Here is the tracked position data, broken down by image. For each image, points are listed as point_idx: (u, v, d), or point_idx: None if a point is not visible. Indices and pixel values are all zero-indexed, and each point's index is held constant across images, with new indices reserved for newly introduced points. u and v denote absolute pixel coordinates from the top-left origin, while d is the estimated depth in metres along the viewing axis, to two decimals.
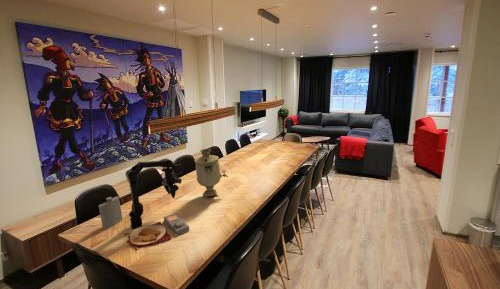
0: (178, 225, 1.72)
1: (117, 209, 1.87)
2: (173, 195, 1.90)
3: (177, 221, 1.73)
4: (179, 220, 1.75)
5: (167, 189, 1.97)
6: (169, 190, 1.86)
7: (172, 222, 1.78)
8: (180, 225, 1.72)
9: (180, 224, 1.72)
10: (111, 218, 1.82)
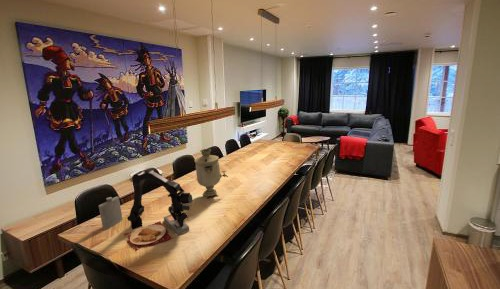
0: (178, 225, 1.72)
1: (117, 209, 1.87)
2: (181, 224, 1.69)
3: (177, 221, 1.73)
4: None
5: (174, 216, 1.77)
6: (177, 219, 1.65)
7: (172, 222, 1.78)
8: None
9: None
10: (111, 218, 1.82)
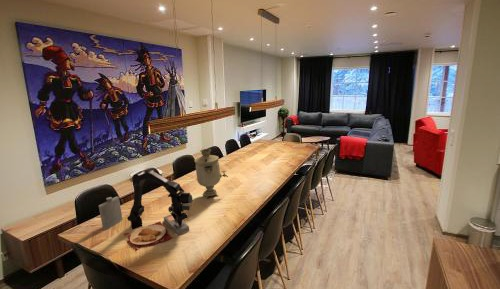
0: (178, 225, 1.72)
1: (117, 209, 1.87)
2: (180, 223, 1.71)
3: None
4: None
5: (175, 218, 1.75)
6: (177, 219, 1.65)
7: (172, 222, 1.78)
8: None
9: None
10: (111, 218, 1.82)
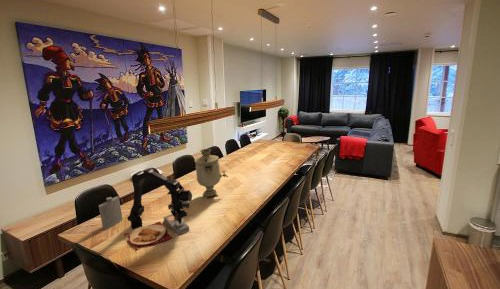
0: (178, 223, 1.71)
1: (117, 209, 1.87)
2: (180, 220, 1.71)
3: None
4: None
5: (175, 215, 1.74)
6: (177, 217, 1.65)
7: (172, 222, 1.78)
8: (180, 223, 1.72)
9: None
10: (111, 218, 1.82)
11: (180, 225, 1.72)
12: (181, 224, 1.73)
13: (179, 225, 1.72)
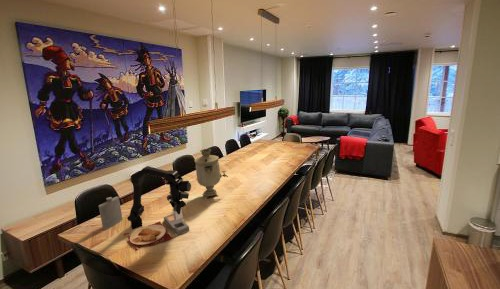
0: (177, 213, 1.70)
1: (117, 209, 1.87)
2: (178, 211, 1.69)
3: None
4: None
5: (174, 206, 1.73)
6: (175, 207, 1.63)
7: (172, 222, 1.78)
8: None
9: None
10: (111, 218, 1.82)
11: (179, 216, 1.71)
12: (180, 215, 1.71)
13: (178, 216, 1.71)
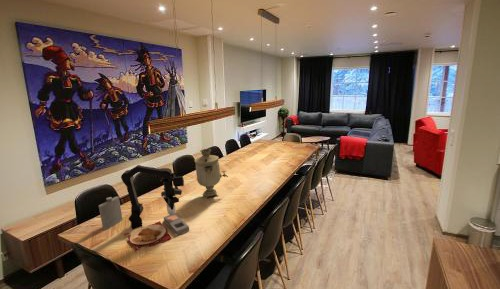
0: (170, 209, 1.79)
1: (117, 209, 1.87)
2: (172, 207, 1.79)
3: None
4: None
5: (167, 202, 1.83)
6: (169, 203, 1.73)
7: (172, 222, 1.78)
8: None
9: None
10: (111, 218, 1.82)
11: (172, 211, 1.81)
12: (173, 210, 1.81)
13: (171, 211, 1.80)
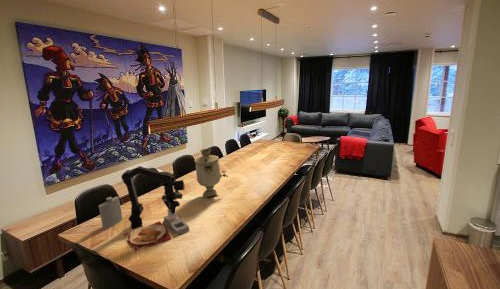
0: (171, 214, 1.80)
1: (117, 209, 1.87)
2: (173, 211, 1.79)
3: (170, 210, 1.82)
4: None
5: (168, 205, 1.84)
6: (169, 207, 1.74)
7: (172, 222, 1.78)
8: (173, 214, 1.81)
9: None
10: (111, 218, 1.82)
11: (173, 216, 1.82)
12: (174, 215, 1.82)
13: (172, 216, 1.81)
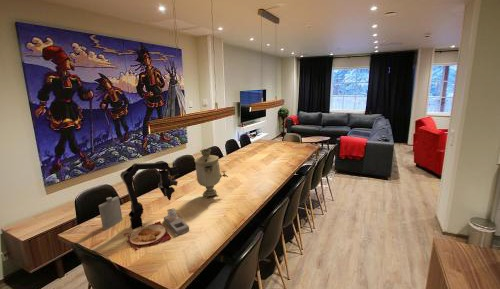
0: (171, 214, 1.80)
1: (117, 209, 1.87)
2: (169, 197, 1.89)
3: (170, 210, 1.82)
4: (172, 209, 1.83)
5: (163, 191, 1.96)
6: (165, 192, 1.85)
7: (172, 222, 1.78)
8: (173, 214, 1.81)
9: (173, 213, 1.81)
10: (111, 218, 1.82)
11: (173, 216, 1.82)
12: (174, 215, 1.82)
13: (172, 216, 1.81)
